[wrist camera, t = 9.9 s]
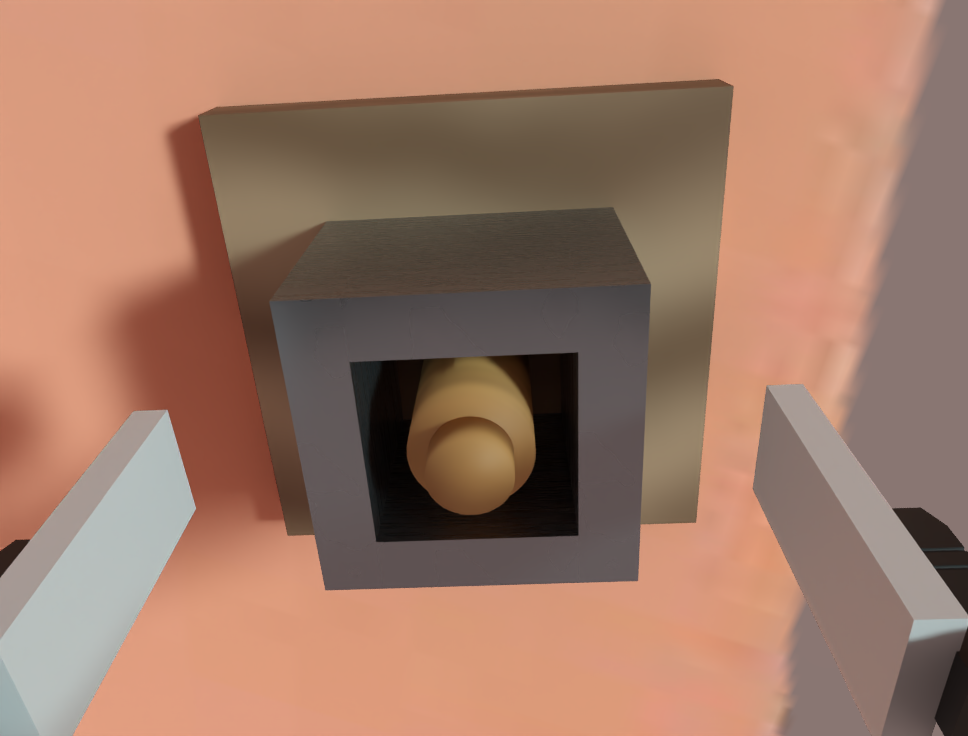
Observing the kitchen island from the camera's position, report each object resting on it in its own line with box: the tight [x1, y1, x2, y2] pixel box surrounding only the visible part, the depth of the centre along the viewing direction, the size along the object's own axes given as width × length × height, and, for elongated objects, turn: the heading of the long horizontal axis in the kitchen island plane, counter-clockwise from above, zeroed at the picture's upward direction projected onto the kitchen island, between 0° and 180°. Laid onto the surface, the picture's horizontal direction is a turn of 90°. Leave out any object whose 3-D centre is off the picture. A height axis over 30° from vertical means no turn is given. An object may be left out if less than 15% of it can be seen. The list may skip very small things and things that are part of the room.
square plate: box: [198, 79, 733, 536], centre depth 21 cm, size 14×14×8 cm
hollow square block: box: [269, 207, 651, 590], centre depth 21 cm, size 8×8×6 cm
